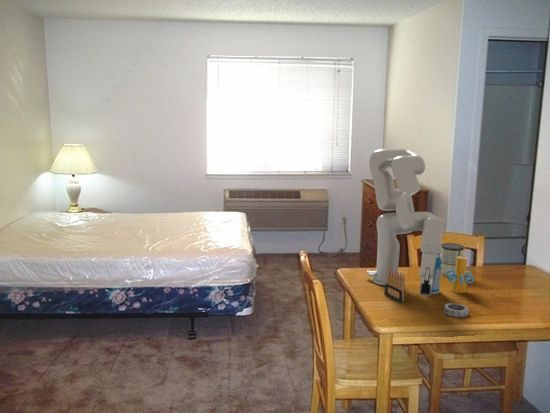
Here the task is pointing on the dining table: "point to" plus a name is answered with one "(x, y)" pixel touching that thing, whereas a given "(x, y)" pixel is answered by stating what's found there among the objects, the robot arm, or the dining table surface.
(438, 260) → the blue lidded canister
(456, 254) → the coffee can
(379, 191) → the robot arm
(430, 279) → the silver metal cylinder
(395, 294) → the ammunition clip
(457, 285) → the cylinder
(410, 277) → the dining table surface
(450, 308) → the duct flange
